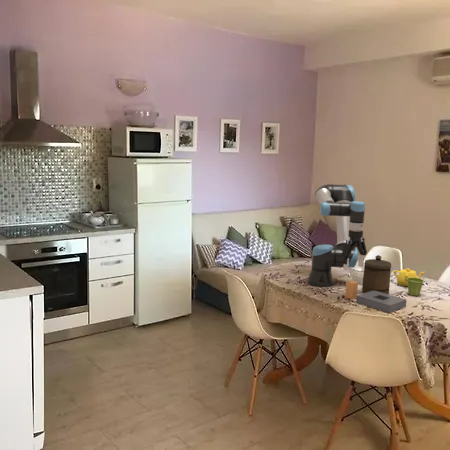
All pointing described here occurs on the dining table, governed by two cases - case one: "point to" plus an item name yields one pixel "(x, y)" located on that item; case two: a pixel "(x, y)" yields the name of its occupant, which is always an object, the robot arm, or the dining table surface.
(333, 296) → the dining table surface
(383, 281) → the wooden container
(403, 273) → the teapot
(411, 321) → the dining table surface
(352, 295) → the orange plug
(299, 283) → the dining table surface
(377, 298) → the socket board
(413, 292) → the plant pot
